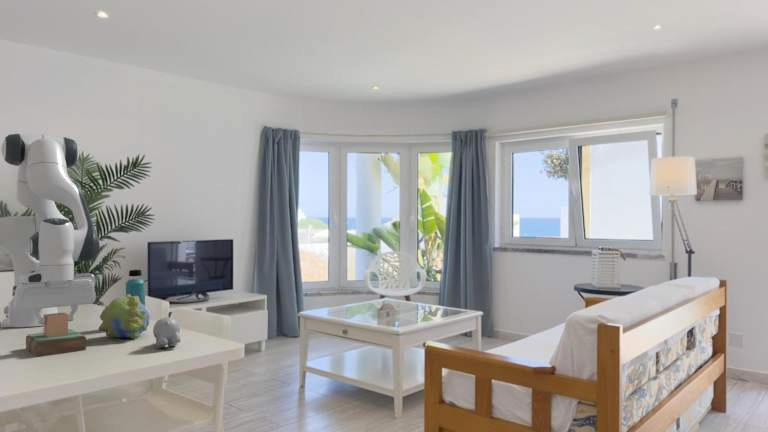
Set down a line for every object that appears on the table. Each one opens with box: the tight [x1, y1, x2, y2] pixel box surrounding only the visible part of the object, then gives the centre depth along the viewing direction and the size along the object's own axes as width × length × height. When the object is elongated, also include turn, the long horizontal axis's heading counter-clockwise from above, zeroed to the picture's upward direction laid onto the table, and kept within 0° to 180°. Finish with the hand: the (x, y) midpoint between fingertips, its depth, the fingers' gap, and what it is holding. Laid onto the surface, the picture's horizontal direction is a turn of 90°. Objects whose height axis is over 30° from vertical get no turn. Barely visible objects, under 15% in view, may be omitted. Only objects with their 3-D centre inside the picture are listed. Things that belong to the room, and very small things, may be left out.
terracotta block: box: [43, 311, 69, 338], centre depth 157 cm, size 5×5×6 cm
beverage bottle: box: [125, 269, 146, 306], centre depth 191 cm, size 6×7×20 cm
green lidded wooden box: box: [25, 328, 87, 357], centre depth 157 cm, size 14×12×4 cm
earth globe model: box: [98, 294, 151, 340], centre depth 172 cm, size 14×16×15 cm
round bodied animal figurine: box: [152, 316, 182, 349], centre depth 160 cm, size 7×12×8 cm, turn 34°
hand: (55, 322), depth 157 cm, fingers open, 6 cm apart
